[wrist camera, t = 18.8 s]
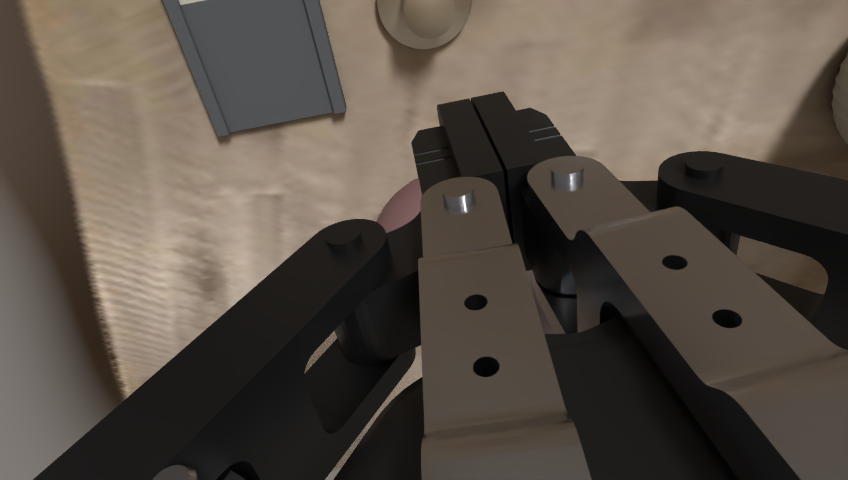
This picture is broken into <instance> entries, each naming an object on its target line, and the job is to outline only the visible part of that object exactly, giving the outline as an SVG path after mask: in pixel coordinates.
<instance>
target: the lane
mask: <svg viewBox="0 0 848 480" xmlns="http://www.w3.org/2000/svg"><path fill="white" fill-rule="evenodd" d="M163 3H164V5H165V8H166V10H167V13H168V15H169V18H170V20H171V23H172V25H173V28H174V30H175V33H176V35H177V37H178V40H179V42H180V45H181V47H182V50H183V52H184V55H185V57H186V60H187V62H188V65H189V67H190V70H191V72H192V75H193V77H194V80H195V82H196V84H197V87H198V89H199V92H200V94H201V97H202V99H203V102H204V104H205V107H206V109H207V112H208V114H209V117H210V119H211V122H212V124H213V127H214V129H215V131H216V134H217V136H218V137H221V136H226V135H229V134H230V132H235V131H240V130H245V129H250V128H255V127H260V126H266V125H271V124H276V123H281V122H286V121H291V120H296V119H301V118H307V117H312V116H317V115H322V114H327V113H332V112H334V113H335V114H338V113H343V112H346V103H345V99H344V95H343V91H342V88H341V84H340V80H339V76H338V72H337V68H336V64H335V60H334V56H333V52H332V48H331V44H330V40H329V36H328V32H327V28H326V24H325V20H324V16H323V13H322V9H321V5H320V1H319V0H163Z"/></svg>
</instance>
